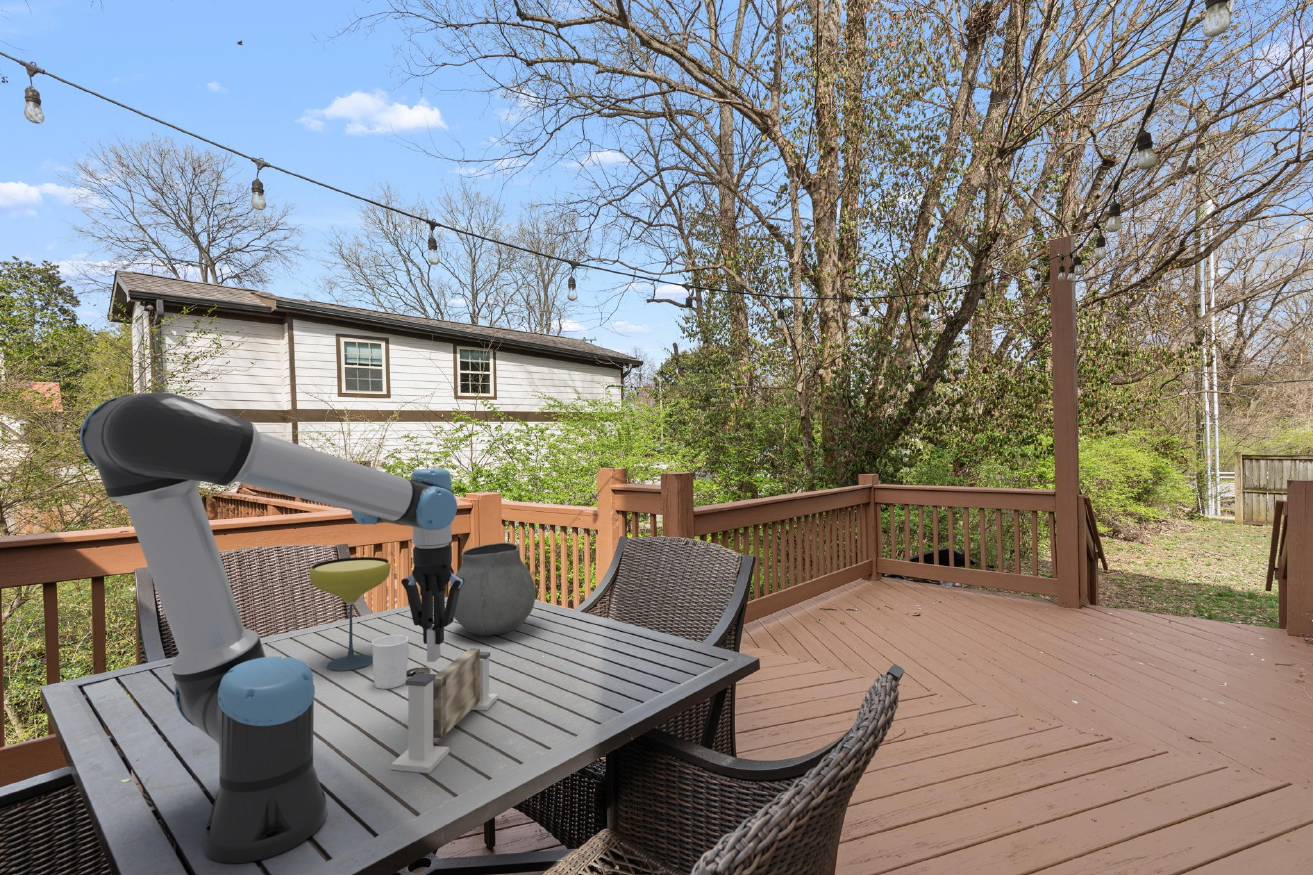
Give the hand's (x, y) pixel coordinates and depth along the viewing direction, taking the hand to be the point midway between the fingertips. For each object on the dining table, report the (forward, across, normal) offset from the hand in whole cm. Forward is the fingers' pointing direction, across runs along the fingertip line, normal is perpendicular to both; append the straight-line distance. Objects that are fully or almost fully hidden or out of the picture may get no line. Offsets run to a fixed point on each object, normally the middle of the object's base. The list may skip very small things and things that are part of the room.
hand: (433, 659), depth 128 cm
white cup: (+12, +18, -14) cm, 26 cm away
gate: (+10, -7, +5) cm, 13 cm away
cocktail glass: (+12, +35, -24) cm, 44 cm away
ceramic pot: (+12, +10, -52) cm, 55 cm away
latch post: (+12, -7, -6) cm, 15 cm away
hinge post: (+11, -7, +17) cm, 22 cm away
